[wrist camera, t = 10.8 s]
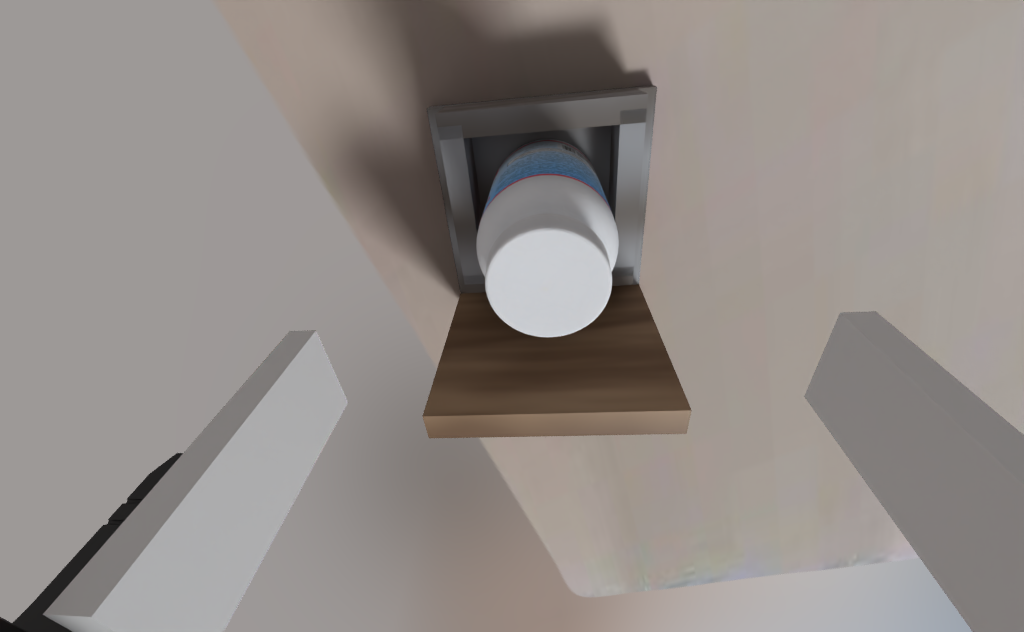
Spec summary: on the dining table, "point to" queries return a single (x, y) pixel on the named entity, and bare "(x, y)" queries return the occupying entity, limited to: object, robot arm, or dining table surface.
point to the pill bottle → (547, 240)
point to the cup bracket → (564, 359)
